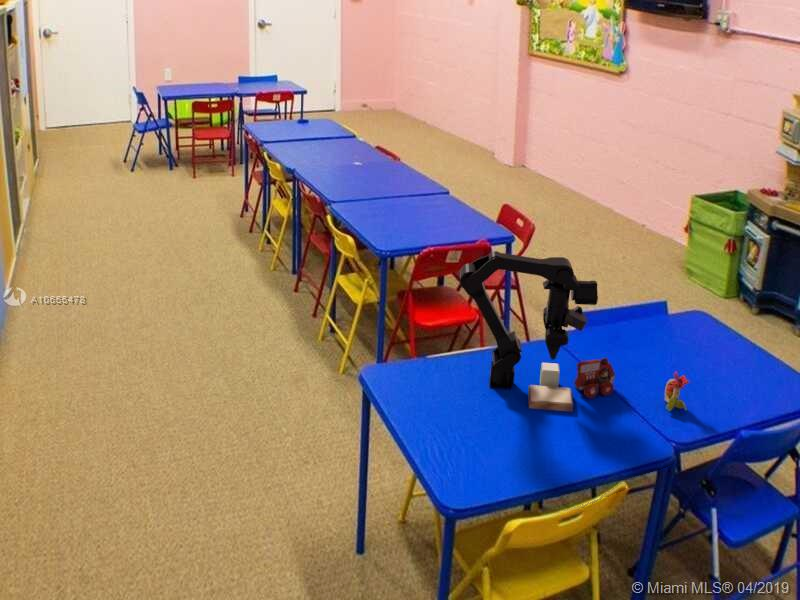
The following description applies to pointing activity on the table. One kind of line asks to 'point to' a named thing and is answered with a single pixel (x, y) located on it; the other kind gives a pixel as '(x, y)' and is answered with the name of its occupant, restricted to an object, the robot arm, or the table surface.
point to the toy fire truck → (595, 377)
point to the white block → (549, 374)
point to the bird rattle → (675, 392)
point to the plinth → (550, 398)
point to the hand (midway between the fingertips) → (552, 351)
